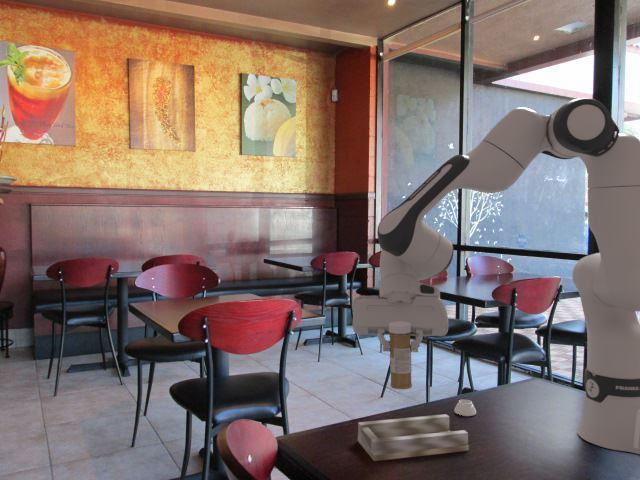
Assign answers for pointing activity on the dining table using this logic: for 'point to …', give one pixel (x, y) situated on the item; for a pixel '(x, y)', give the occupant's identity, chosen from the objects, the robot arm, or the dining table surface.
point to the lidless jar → (465, 408)
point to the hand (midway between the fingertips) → (400, 350)
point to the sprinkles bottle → (400, 354)
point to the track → (410, 437)
